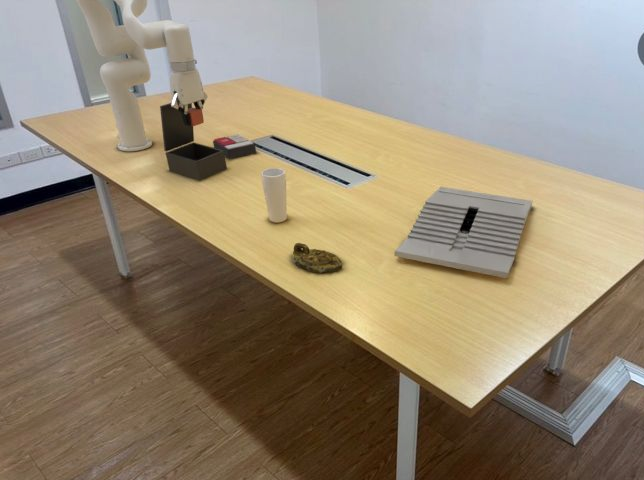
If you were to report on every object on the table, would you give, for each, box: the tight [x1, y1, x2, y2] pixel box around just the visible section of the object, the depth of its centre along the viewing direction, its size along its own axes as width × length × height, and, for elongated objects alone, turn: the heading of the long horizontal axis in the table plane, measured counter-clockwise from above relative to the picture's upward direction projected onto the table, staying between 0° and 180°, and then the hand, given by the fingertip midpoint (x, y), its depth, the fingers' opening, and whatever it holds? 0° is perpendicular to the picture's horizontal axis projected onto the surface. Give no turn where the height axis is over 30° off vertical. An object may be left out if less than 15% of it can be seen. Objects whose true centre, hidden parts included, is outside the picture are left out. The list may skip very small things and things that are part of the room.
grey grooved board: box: [394, 186, 533, 279], centre depth 157 cm, size 44×29×4 cm, turn 162°
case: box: [165, 141, 228, 182], centre depth 195 cm, size 16×13×7 cm
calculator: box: [212, 133, 257, 160], centre depth 211 cm, size 11×4×15 cm
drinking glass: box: [260, 167, 288, 224], centre depth 161 cm, size 7×7×15 cm
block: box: [188, 107, 204, 127], centre depth 185 cm, size 4×4×4 cm
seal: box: [292, 242, 343, 274], centre depth 144 cm, size 9×5×15 cm
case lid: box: [159, 102, 195, 153], centre depth 191 cm, size 16×13×1 cm
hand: (193, 122), depth 186 cm, fingers closed on block, 4 cm apart
